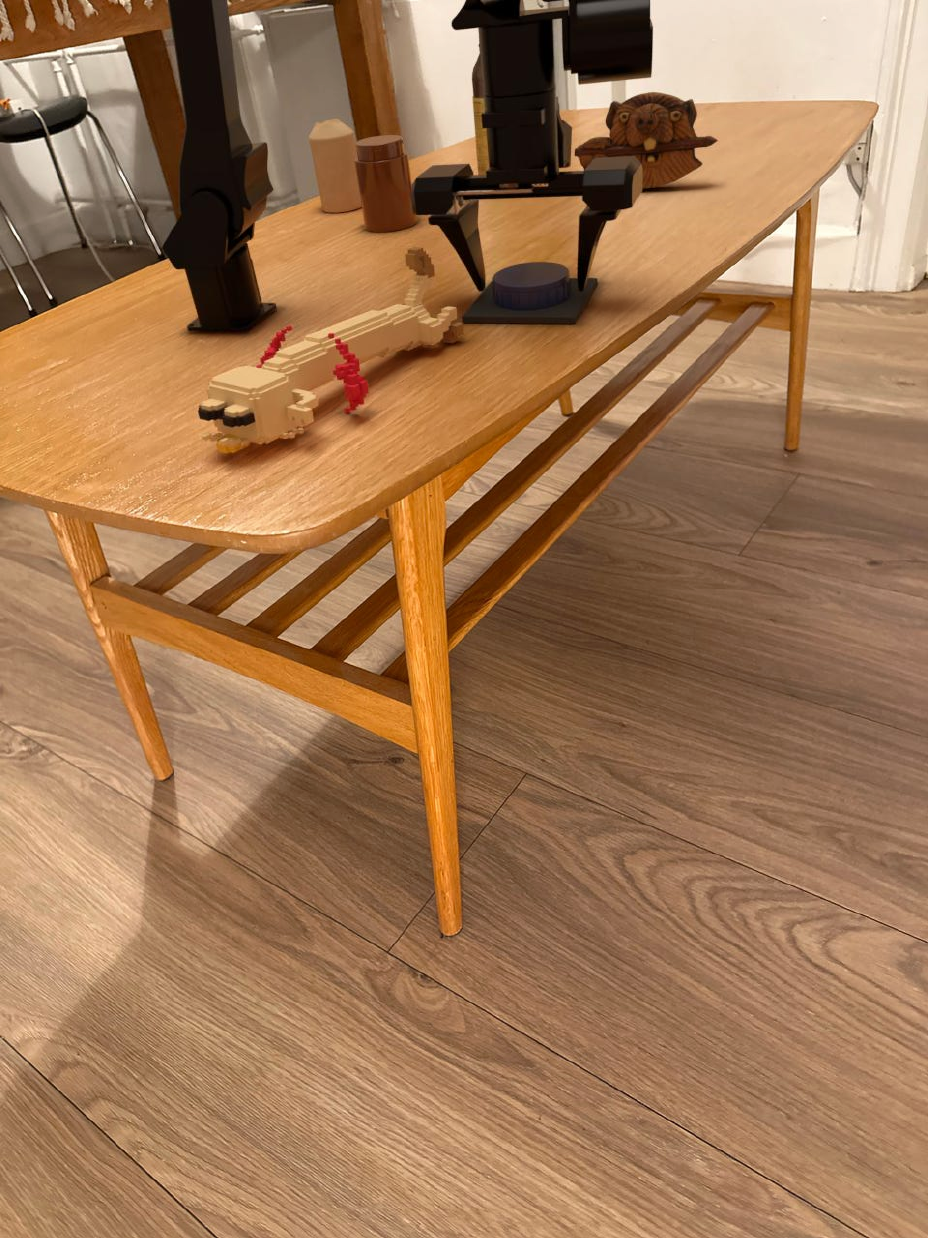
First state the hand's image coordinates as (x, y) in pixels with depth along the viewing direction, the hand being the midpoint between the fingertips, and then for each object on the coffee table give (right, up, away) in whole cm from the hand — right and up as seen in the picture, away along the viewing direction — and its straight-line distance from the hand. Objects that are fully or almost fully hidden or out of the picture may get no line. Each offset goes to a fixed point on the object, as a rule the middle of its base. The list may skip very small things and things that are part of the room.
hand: (531, 289), depth 81 cm
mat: (0, -1, +1) cm, 1 cm away
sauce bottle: (-1, +25, +35) cm, 43 cm away
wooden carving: (+16, +22, +28) cm, 39 cm away
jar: (-15, +18, +27) cm, 36 cm away
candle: (-22, +24, +37) cm, 49 cm away
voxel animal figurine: (-16, -12, -11) cm, 23 cm away
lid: (0, +1, -1) cm, 1 cm away
